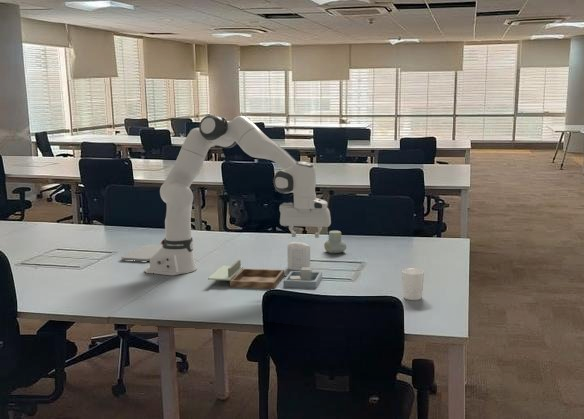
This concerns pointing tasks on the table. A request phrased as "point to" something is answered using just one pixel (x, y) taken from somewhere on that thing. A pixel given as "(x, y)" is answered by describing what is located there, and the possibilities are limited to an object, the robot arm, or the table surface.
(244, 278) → the wooden tray
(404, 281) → the white cup
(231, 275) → the lid
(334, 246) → the air freshener
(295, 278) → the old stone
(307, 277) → the beige small block
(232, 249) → the table surface
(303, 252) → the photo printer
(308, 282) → the bin
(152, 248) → the tablet
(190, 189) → the robot arm
